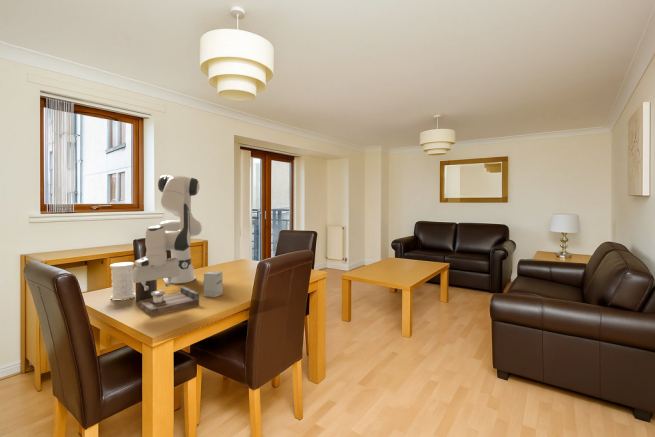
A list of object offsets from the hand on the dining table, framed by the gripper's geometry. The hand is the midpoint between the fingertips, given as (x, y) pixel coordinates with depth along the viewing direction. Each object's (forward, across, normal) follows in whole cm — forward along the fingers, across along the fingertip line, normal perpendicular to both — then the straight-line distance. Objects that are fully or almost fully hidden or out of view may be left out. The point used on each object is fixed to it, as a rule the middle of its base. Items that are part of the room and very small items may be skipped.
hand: (157, 288), depth 160 cm
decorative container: (+10, +7, -31) cm, 34 cm away
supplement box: (+10, -29, -2) cm, 31 cm away
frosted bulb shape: (+10, 0, +1) cm, 10 cm away
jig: (+10, -5, +1) cm, 11 cm away
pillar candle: (+10, 0, -16) cm, 19 cm away
